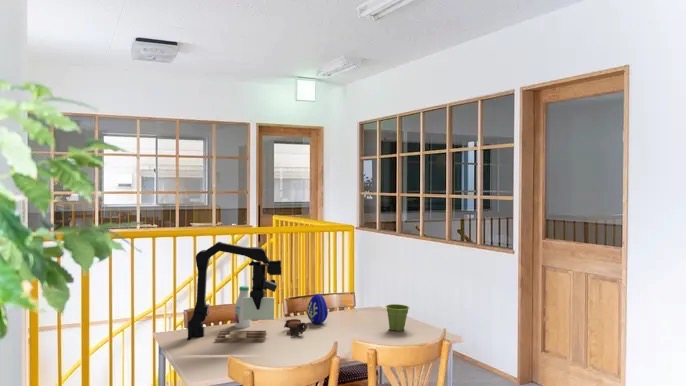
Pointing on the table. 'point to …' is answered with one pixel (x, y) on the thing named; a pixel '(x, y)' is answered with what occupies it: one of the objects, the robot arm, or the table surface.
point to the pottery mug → (295, 327)
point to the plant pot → (397, 316)
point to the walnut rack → (251, 337)
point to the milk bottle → (241, 309)
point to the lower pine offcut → (233, 337)
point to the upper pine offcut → (238, 333)
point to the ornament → (317, 309)
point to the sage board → (263, 313)
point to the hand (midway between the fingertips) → (258, 309)
